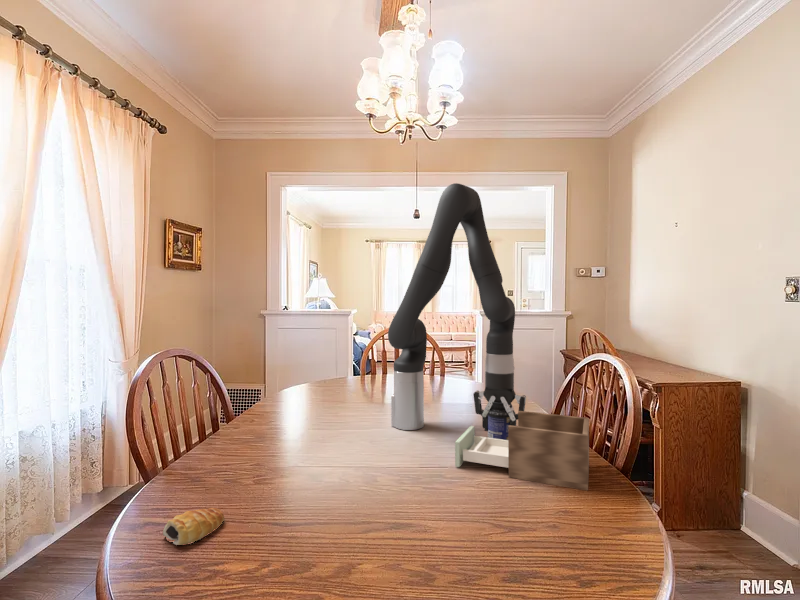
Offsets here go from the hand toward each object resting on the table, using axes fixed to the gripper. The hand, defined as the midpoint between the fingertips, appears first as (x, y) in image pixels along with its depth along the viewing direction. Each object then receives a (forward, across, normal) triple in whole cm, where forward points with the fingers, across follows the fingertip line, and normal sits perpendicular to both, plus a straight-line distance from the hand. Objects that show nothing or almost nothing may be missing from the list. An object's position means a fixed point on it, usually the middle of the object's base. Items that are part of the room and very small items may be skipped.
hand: (499, 431), depth 114 cm
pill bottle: (+3, 0, 0) cm, 3 cm away
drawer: (+3, +2, -13) cm, 14 cm away
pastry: (+4, -39, -64) cm, 75 cm away
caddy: (+3, +14, -13) cm, 20 cm away
